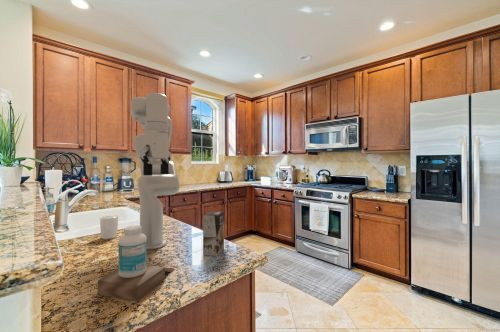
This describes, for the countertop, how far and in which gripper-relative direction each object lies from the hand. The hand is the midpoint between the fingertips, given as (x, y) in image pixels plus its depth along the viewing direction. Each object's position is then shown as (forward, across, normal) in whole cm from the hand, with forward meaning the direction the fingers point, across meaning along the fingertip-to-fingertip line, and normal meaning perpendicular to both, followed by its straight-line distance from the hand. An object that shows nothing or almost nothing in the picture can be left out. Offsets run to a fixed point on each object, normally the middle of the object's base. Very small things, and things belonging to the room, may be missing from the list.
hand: (156, 174), depth 88 cm
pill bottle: (+28, +17, +4) cm, 34 cm away
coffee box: (+32, -16, +16) cm, 40 cm away
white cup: (+32, -21, -42) cm, 57 cm away
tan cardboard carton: (+33, +13, +4) cm, 36 cm away
